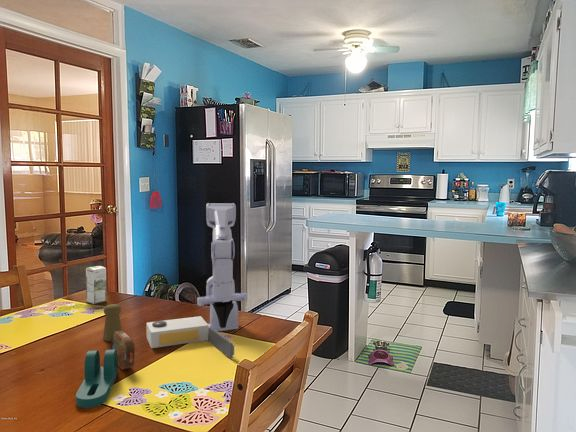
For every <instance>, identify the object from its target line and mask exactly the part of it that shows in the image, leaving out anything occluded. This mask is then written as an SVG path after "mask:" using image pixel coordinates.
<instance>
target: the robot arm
mask: <svg viewBox="0 0 576 432" xmlns="http://www.w3.org/2000/svg"><path fill="white" fill-rule="evenodd" d="M205 206H206V207H205V212H206V213H205V216H206V217H205V220H206V225H207V227H210V228H212V242H211V243H210V245H211V247H210V250H211V254H210V257H211V262H212V266H211V267H212V276H210V277H209V278H208V279H207V280H206V286H205V288H206V289H205V291H206V292H205V293H206V294H205V296H198V297H197V298H196V304H197V306H198V307H202V306H203V305H205V306H206V305H209V323H207V324H208V325H209V327H212V328H213V329H214V330H216V331H217V332H224V331H232V330H238V329H240V327H239V306H238V302H242V301H244V302H247V301H248V293H246V292H236V287H235V286H236V285H235V280H234V277H233V276H234V275H233V271H234V269H233V267H234V259H235V242H234V238H233V235H232V229H231V227H234V225H235V223H236V220H237V219H236V218H237V217H236V216H237V207H236V206H237V205H236V204H235V203H234V202H232V203H228V202H226V203H225V202H224V203H215V202H214V203H213V202H212V203H209V202H207V203H206V205H205Z"/></svg>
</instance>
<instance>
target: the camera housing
mask: <svg viewBox="0 0 576 432" xmlns="http://www.w3.org/2000/svg"><path fill="white" fill-rule="evenodd" d="M208 324H209V323H207V321H205V319H204V318H203V317H202V316H201V315H199V316H193V317H192V316H191V317H190V316H189V317H183V318H182V317H181V318H175V319H165V320H157V321H156V320H155V321H149V322H146V340H147V342H148V344H149V347H150V348H151V349H156V348H163V347H170V346H177V345H178V346H179V345H183V344H189V343H190V344H191V343H197V342H205V340H206V341H208V327H209V325H208Z"/></svg>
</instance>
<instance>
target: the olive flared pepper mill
mask: <svg viewBox="0 0 576 432" xmlns="http://www.w3.org/2000/svg"><path fill="white" fill-rule="evenodd" d="M121 311H122V307H121V306H120V304H118V303H117V304H116V303H111V304H107V305H105V307H104V309H103V313H104V315H105V320H104V329H103V341H106V342H111V337H112V333H113V332H114V331H115V332H117V331H123V328H122V323H121V316H120V314H121V313H122V312H121Z"/></svg>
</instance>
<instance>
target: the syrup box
mask: <svg viewBox="0 0 576 432" xmlns="http://www.w3.org/2000/svg"><path fill="white" fill-rule="evenodd" d="M85 292H86V293H85V294H86V295H85V296H86V297H85V299H86V302H87V303H88V304H89V303H90V304H93V305H96V304H100V303H104V302H107V268H106V267H104V266H103V265H96V266H89V267H85Z"/></svg>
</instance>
